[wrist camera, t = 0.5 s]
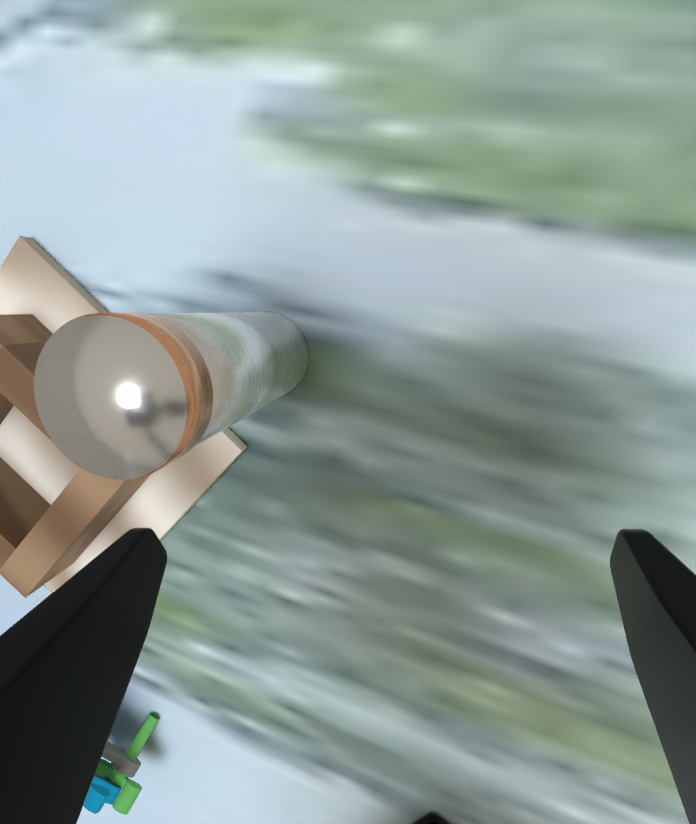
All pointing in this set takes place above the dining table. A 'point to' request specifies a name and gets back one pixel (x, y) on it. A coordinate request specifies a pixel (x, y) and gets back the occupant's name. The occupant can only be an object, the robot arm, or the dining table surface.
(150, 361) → the grey topped cylinder
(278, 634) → the dining table surface
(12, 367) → the socket
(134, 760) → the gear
